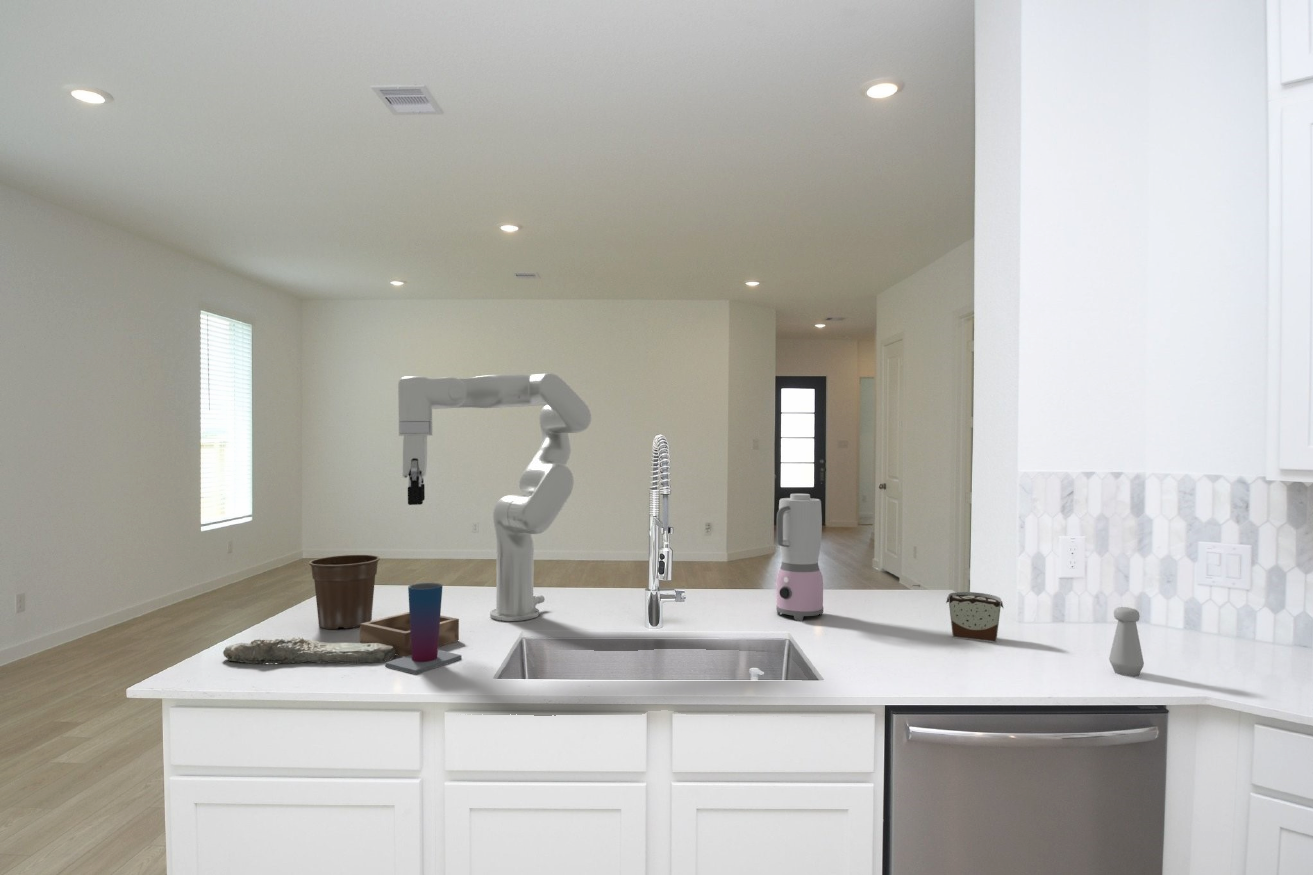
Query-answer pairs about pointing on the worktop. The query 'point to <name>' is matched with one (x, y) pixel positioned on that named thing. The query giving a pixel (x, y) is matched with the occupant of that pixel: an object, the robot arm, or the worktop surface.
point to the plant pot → (344, 589)
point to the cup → (424, 620)
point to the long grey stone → (307, 651)
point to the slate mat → (418, 667)
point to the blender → (799, 556)
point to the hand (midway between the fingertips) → (416, 502)
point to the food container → (974, 615)
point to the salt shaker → (1126, 643)
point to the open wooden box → (404, 632)
